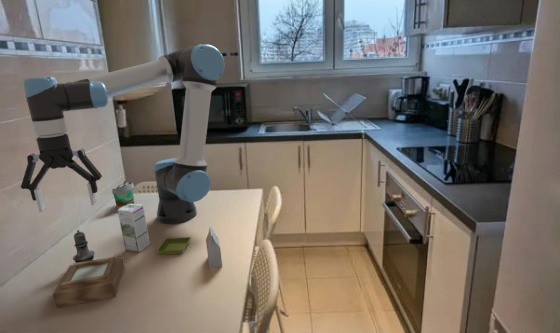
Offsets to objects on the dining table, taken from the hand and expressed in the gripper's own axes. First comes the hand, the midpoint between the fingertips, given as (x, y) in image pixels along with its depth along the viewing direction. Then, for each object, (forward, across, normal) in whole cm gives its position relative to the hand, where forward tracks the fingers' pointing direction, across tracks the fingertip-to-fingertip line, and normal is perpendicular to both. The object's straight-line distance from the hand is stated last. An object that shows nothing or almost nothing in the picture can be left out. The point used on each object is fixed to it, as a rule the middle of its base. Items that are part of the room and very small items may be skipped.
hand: (68, 207), depth 104 cm
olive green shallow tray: (+20, -27, -1) cm, 34 cm away
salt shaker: (+19, -1, +1) cm, 19 cm away
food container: (+19, -6, -49) cm, 53 cm away
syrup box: (+19, -15, -6) cm, 25 cm away
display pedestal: (+19, -6, +14) cm, 24 cm away
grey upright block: (+19, -39, +12) cm, 45 cm away
